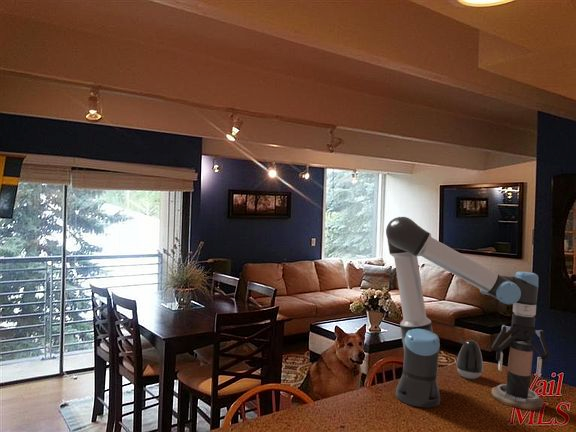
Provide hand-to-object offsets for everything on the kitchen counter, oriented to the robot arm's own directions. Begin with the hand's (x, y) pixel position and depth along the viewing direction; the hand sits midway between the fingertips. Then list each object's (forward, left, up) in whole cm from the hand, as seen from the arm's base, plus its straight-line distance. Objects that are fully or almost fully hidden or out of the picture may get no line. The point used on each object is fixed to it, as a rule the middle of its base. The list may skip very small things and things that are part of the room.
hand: (518, 372), depth 168 cm
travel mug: (0, 0, -9) cm, 9 cm away
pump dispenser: (-15, +17, -10) cm, 25 cm away
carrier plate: (0, 0, -10) cm, 10 cm away
